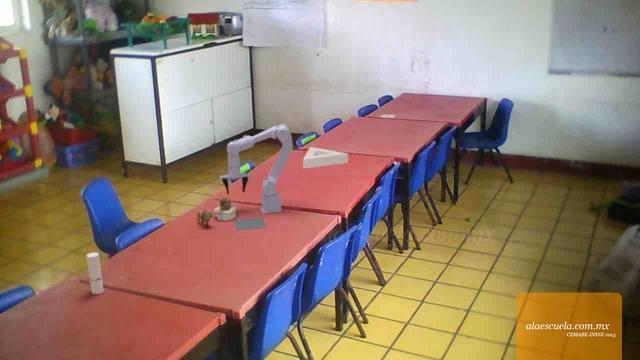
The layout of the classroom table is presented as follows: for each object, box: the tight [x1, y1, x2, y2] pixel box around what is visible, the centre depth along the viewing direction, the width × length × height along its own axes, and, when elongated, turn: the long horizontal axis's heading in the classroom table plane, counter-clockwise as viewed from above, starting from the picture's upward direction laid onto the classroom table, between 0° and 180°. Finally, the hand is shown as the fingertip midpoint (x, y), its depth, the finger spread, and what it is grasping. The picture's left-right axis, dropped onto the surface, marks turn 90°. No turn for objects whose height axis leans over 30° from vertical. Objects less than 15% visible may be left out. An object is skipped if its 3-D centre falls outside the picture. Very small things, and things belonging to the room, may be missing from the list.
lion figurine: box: [196, 209, 215, 229], centre depth 308 cm, size 15×5×9 cm, turn 38°
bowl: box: [215, 211, 237, 222], centre depth 317 cm, size 9×9×4 cm
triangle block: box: [302, 146, 349, 170], centre depth 406 cm, size 30×26×6 cm
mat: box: [233, 216, 268, 232], centre depth 308 cm, size 14×14×1 cm
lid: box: [213, 197, 238, 214], centre depth 315 cm, size 11×11×6 cm
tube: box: [86, 252, 104, 295], centre depth 244 cm, size 4×4×15 cm
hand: (235, 192), depth 321 cm, fingers open, 7 cm apart
